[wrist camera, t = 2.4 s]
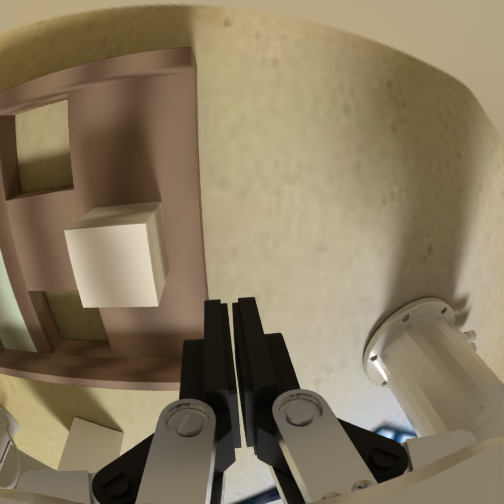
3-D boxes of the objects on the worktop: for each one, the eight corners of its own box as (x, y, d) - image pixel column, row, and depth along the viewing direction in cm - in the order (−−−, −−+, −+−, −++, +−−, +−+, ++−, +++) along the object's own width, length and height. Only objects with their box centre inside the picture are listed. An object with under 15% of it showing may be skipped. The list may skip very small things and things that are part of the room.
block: (161, 201, 20) (145, 223, 15) (169, 269, 22) (158, 306, 17) (94, 207, 19) (64, 230, 15) (106, 272, 21) (83, 307, 17)
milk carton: (74, 415, 31) (41, 535, 13) (124, 432, 32) (106, 557, 15) (76, 439, 33) (52, 544, 16) (121, 453, 35) (107, 562, 17)
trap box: (196, 66, 19) (190, 46, 14) (213, 347, 28) (214, 389, 23) (-39, 127, 16) (-76, 133, 11) (12, 341, 26) (-9, 371, 21)
